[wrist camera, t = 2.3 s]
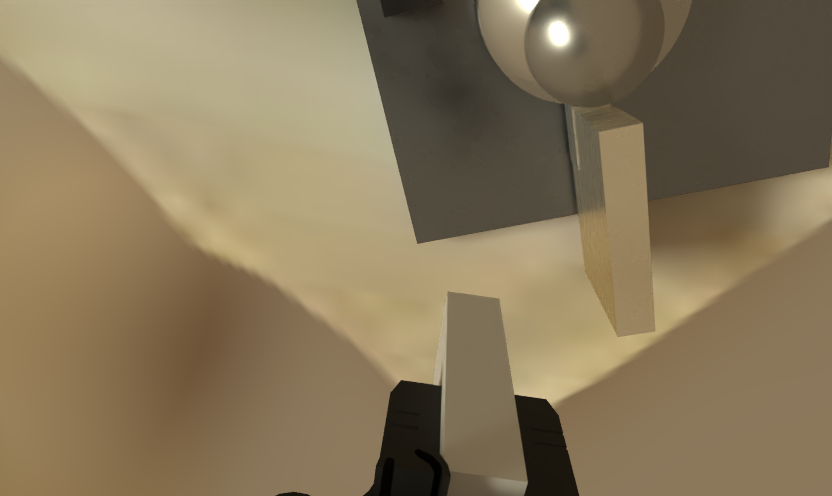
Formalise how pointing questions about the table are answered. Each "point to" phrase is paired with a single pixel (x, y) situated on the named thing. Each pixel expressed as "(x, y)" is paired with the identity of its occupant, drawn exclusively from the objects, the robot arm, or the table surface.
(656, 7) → the silver ladle
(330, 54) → the table surface
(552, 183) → the stand
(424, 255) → the table surface
